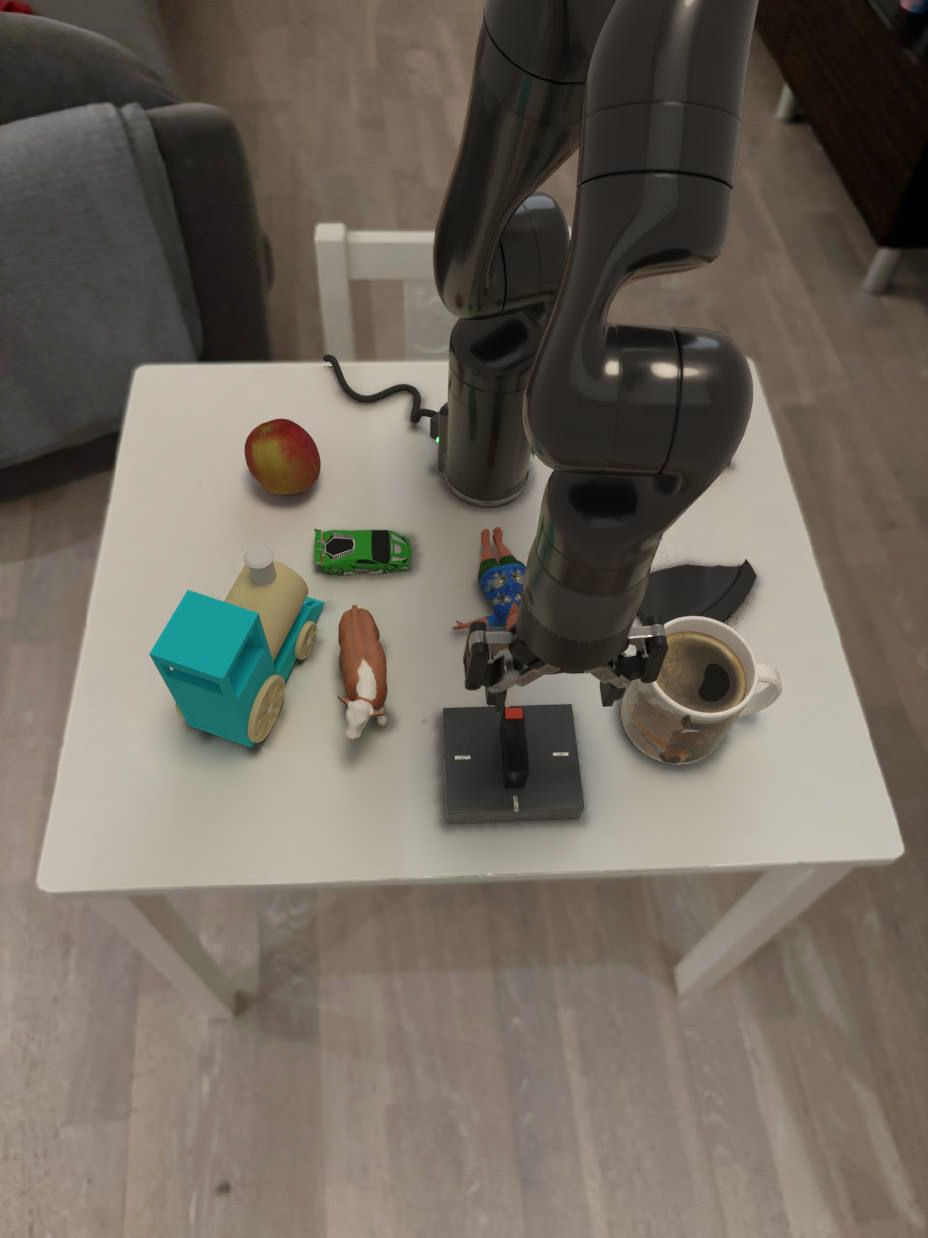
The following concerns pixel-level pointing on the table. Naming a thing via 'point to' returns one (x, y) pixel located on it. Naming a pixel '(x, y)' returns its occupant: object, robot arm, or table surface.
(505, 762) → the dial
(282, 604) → the toy train
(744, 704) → the mug
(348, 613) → the bull figurine
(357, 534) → the toy car
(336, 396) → the table surface
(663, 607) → the fan shaped piece
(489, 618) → the toy character
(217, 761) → the table surface
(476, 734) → the dial panel
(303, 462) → the apple
